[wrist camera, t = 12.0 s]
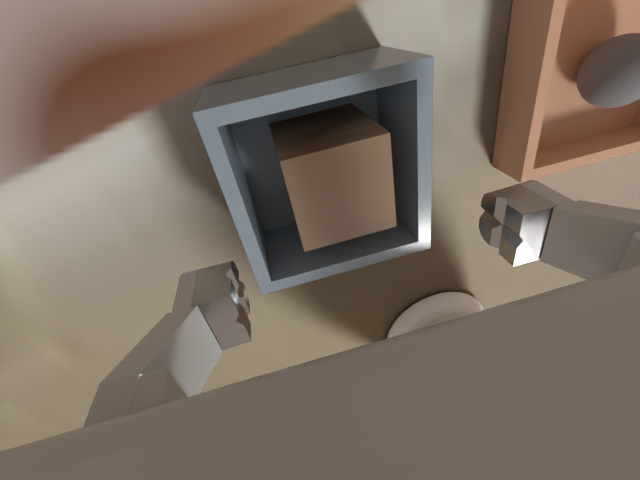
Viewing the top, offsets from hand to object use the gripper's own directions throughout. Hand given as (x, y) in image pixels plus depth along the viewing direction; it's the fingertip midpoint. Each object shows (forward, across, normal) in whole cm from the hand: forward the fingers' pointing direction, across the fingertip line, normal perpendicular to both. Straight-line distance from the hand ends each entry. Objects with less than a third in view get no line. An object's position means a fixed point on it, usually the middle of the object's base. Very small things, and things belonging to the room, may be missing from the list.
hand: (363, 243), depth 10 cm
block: (+8, 0, 0) cm, 8 cm away
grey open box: (+9, 0, 0) cm, 9 cm away
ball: (+8, -15, -1) cm, 17 cm away
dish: (+9, -15, -1) cm, 17 cm away
